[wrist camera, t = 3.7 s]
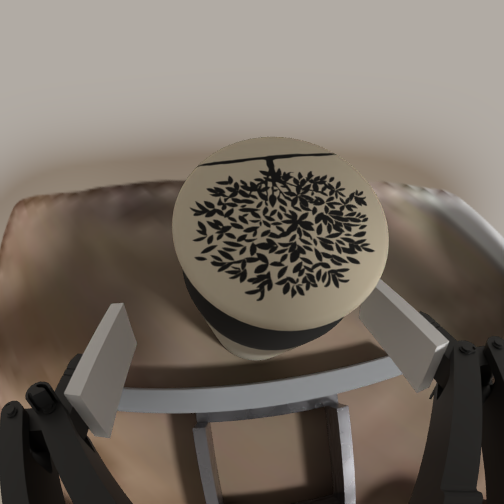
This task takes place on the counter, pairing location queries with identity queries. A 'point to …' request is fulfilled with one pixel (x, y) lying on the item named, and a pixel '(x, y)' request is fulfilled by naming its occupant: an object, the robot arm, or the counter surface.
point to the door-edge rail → (257, 391)
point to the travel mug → (277, 243)
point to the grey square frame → (336, 415)
